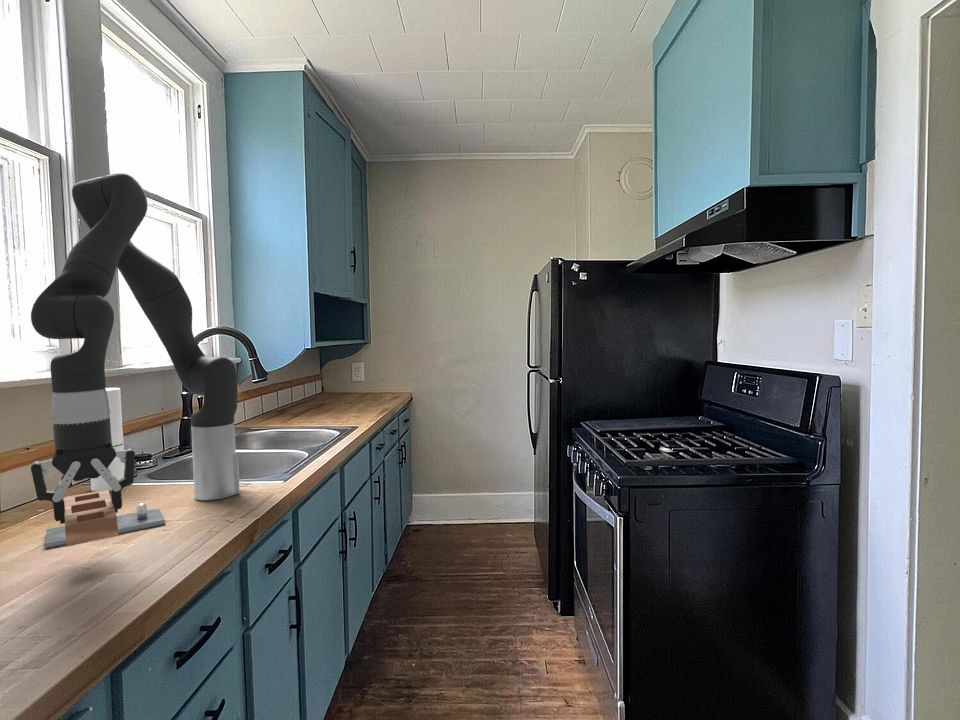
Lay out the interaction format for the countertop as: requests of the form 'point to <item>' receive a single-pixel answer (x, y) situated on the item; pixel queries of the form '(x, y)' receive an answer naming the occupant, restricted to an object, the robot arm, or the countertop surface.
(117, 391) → the cylindrical container
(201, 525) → the countertop surface
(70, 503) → the wooden block with holes
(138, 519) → the post plate
